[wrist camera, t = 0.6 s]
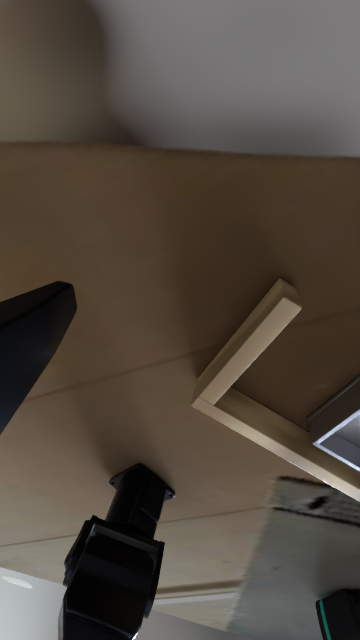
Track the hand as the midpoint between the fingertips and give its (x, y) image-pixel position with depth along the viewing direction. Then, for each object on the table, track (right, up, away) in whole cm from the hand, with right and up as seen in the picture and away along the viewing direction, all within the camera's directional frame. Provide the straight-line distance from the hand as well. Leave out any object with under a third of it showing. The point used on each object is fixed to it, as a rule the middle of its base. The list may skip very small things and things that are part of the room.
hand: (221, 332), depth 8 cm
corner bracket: (+13, -6, +18) cm, 23 cm away
